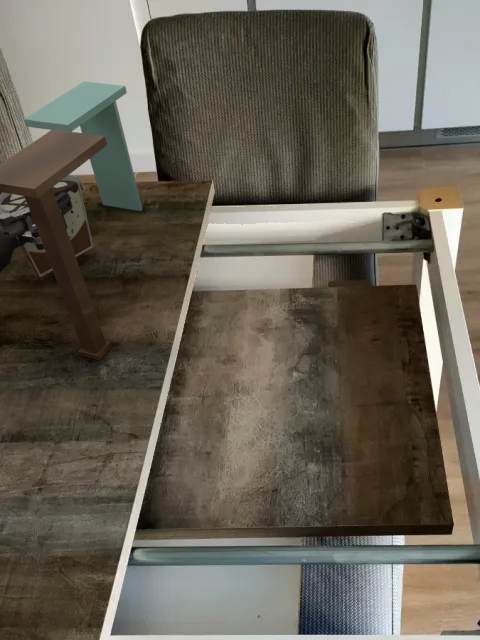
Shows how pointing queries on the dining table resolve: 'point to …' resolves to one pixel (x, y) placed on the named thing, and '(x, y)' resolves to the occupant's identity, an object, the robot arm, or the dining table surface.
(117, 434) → the dining table surface
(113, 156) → the teal plank stand
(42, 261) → the food container
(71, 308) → the side stand
